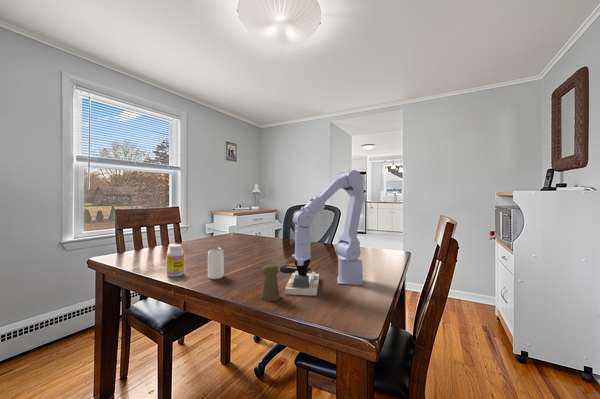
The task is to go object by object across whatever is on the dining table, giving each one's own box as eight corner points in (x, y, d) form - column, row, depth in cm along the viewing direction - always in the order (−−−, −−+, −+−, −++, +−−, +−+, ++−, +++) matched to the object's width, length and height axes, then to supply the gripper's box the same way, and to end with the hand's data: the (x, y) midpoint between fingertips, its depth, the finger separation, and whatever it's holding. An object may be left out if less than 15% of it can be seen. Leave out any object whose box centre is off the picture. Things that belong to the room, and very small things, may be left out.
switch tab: (309, 283, 91) (309, 275, 91) (308, 287, 87) (308, 278, 87) (295, 283, 92) (295, 274, 92) (294, 286, 88) (294, 278, 88)
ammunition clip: (300, 274, 109) (311, 268, 120) (300, 270, 109) (311, 264, 120) (279, 271, 114) (292, 265, 124) (279, 267, 114) (292, 261, 124)
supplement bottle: (172, 278, 105) (172, 247, 104) (163, 275, 108) (163, 245, 108) (187, 273, 110) (187, 244, 110) (178, 271, 114) (178, 243, 114)
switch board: (319, 278, 104) (319, 270, 103) (316, 295, 86) (316, 285, 86) (292, 277, 105) (292, 269, 105) (284, 294, 87) (284, 283, 87)
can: (227, 276, 107) (227, 248, 107) (214, 280, 101) (214, 251, 101) (217, 273, 110) (216, 246, 110) (204, 277, 105) (204, 249, 105)
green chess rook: (271, 302, 80) (271, 268, 80) (257, 298, 83) (257, 265, 83) (283, 296, 85) (282, 264, 85) (269, 292, 88) (269, 261, 88)
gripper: (294, 239, 100) (294, 273, 101) (288, 247, 86) (288, 286, 86) (312, 240, 100) (312, 274, 100) (309, 247, 85) (309, 287, 85)
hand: (302, 279), depth 93 cm, fingers closed
